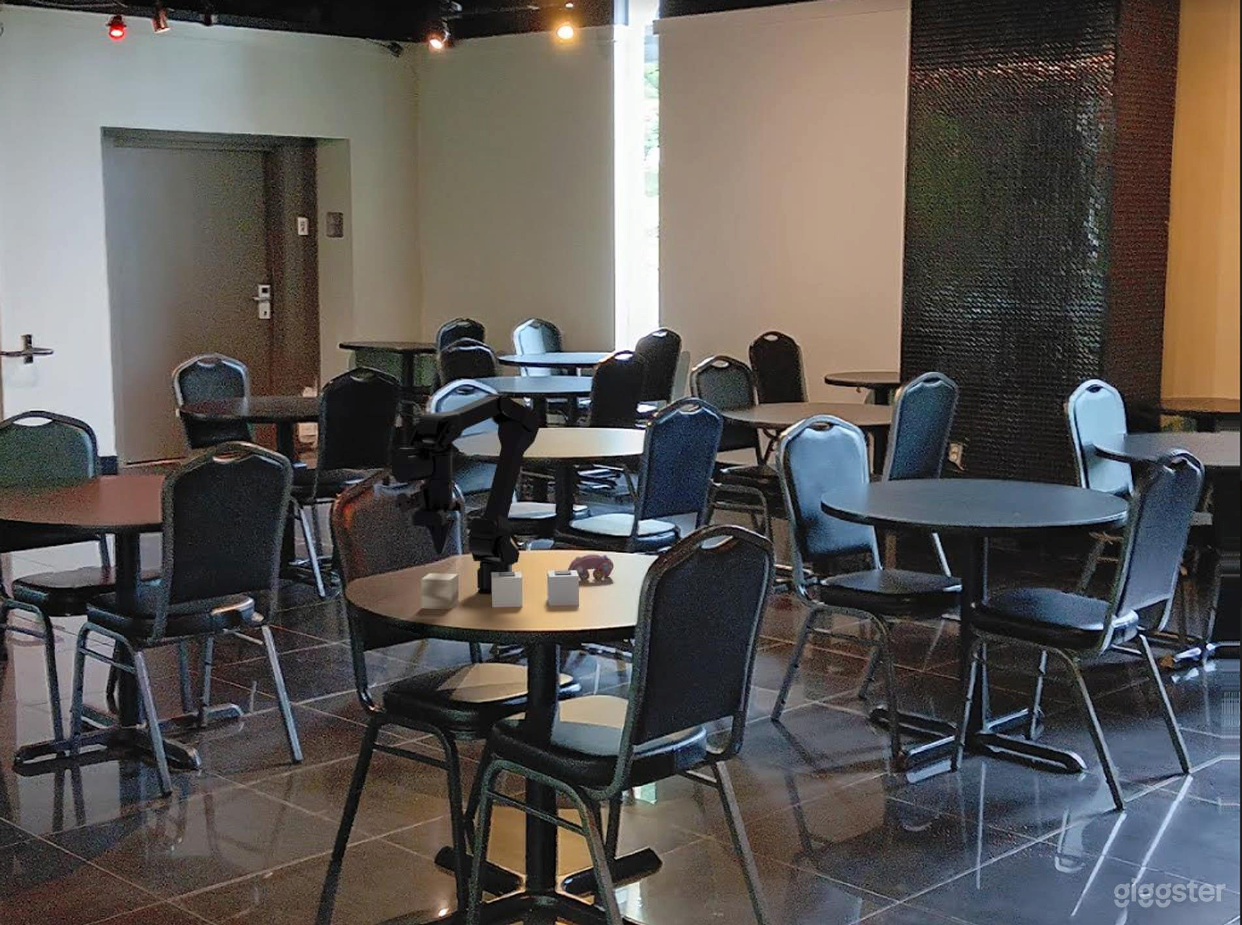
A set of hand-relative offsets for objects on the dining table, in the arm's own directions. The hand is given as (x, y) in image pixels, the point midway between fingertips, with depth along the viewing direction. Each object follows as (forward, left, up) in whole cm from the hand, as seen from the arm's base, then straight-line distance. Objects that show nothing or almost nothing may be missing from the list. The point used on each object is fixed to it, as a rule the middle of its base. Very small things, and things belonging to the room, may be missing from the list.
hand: (439, 554), depth 308 cm
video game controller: (-26, -29, -11) cm, 41 cm away
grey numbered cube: (-24, -6, -11) cm, 27 cm away
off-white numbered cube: (-13, -3, -11) cm, 17 cm away
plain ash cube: (0, 0, -11) cm, 11 cm away
